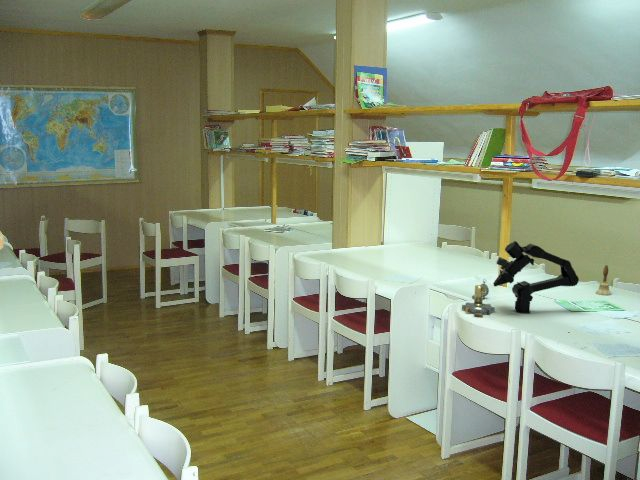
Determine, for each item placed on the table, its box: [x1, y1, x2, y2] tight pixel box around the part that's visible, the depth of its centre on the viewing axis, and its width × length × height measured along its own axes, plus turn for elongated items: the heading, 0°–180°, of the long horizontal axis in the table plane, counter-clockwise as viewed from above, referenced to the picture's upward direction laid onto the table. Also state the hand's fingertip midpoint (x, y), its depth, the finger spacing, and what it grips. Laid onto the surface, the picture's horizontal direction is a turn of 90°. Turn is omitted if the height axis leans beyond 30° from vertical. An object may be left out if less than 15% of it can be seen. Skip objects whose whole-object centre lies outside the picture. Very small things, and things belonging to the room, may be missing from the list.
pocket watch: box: [471, 278, 490, 299], centre depth 355 cm, size 8×8×10 cm
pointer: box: [473, 313, 484, 319], centre depth 320 cm, size 4×3×1 cm
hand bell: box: [595, 264, 612, 296], centre depth 369 cm, size 8×8×16 cm
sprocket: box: [461, 284, 496, 315], centre depth 329 cm, size 16×16×11 cm
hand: (493, 284), depth 331 cm, fingers open, 3 cm apart
